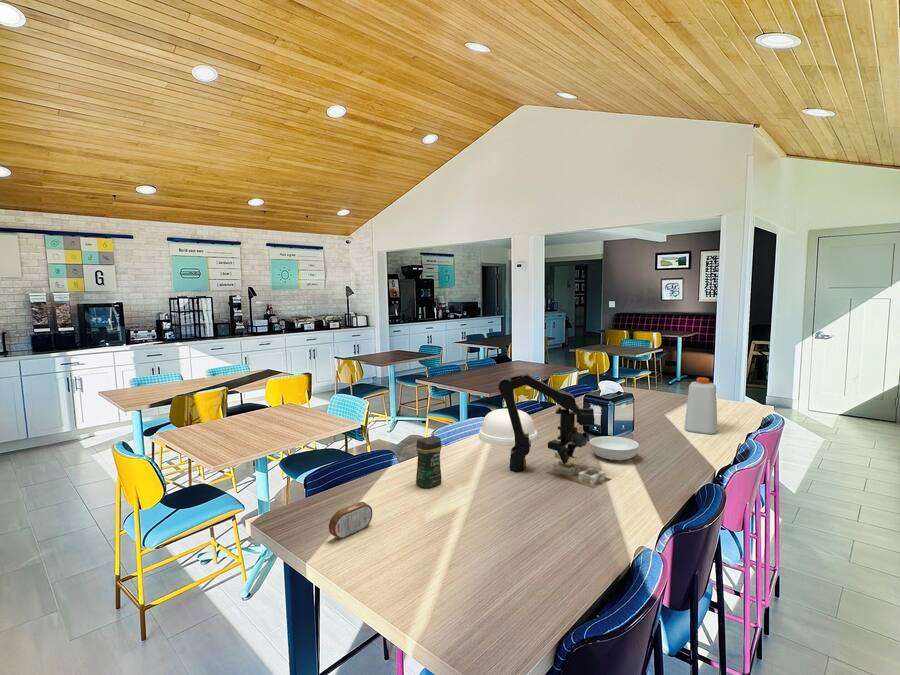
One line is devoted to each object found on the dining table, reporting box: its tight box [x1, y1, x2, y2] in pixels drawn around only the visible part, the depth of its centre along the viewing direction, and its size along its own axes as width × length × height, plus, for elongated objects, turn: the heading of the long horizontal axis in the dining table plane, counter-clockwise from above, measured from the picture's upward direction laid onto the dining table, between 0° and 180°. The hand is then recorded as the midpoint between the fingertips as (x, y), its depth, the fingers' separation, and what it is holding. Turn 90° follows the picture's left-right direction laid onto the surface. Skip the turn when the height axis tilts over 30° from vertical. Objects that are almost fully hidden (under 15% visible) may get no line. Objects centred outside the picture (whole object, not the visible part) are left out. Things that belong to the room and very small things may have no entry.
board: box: [545, 460, 613, 489], centre depth 193 cm, size 13×22×4 cm, turn 43°
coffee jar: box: [415, 435, 442, 489], centre depth 187 cm, size 10×8×19 cm
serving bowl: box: [589, 435, 640, 461], centre depth 217 cm, size 21×21×7 cm
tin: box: [328, 501, 373, 539], centre depth 150 cm, size 15×3×8 cm, turn 138°
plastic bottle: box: [683, 376, 718, 435], centre depth 258 cm, size 15×15×28 cm
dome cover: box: [478, 408, 539, 447], centre depth 248 cm, size 32×30×14 cm
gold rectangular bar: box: [554, 451, 580, 468], centre depth 197 cm, size 2×10×7 cm, turn 42°
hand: (566, 462), depth 197 cm, fingers open, 3 cm apart
